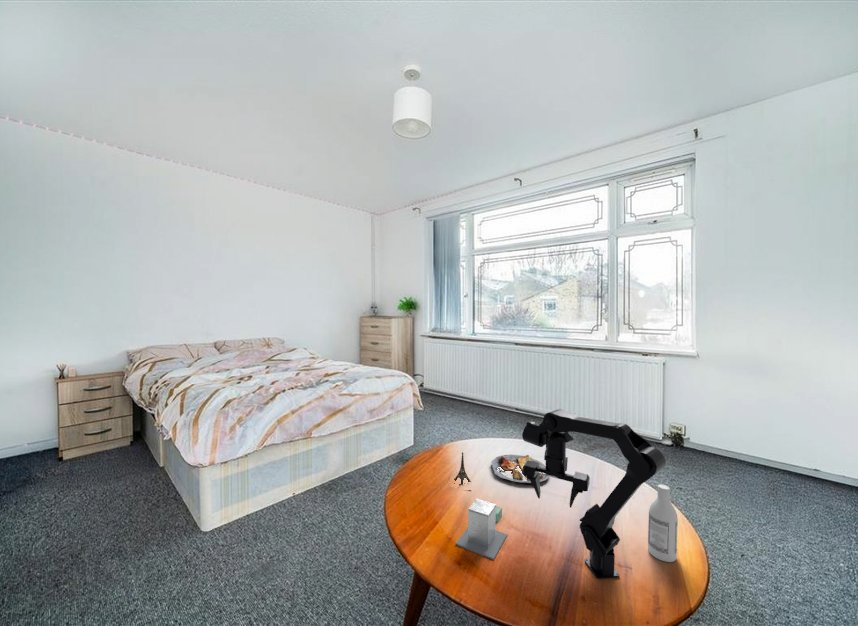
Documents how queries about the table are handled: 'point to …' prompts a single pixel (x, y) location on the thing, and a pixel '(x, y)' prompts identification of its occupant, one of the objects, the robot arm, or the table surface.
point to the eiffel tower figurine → (461, 473)
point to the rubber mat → (483, 551)
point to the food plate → (514, 466)
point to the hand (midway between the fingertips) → (554, 502)
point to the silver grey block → (481, 523)
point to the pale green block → (498, 513)
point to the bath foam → (662, 527)
